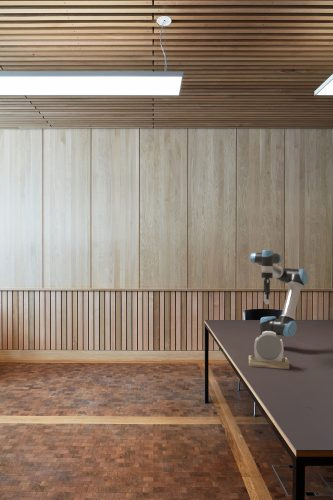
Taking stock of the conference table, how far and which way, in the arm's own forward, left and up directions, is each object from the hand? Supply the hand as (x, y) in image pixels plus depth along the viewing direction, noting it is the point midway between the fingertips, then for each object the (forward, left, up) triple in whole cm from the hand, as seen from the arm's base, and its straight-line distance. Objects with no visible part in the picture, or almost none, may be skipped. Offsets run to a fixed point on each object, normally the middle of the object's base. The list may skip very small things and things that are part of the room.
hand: (266, 303), depth 296 cm
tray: (+24, 0, -37) cm, 44 cm away
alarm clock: (+24, 0, -36) cm, 43 cm away
